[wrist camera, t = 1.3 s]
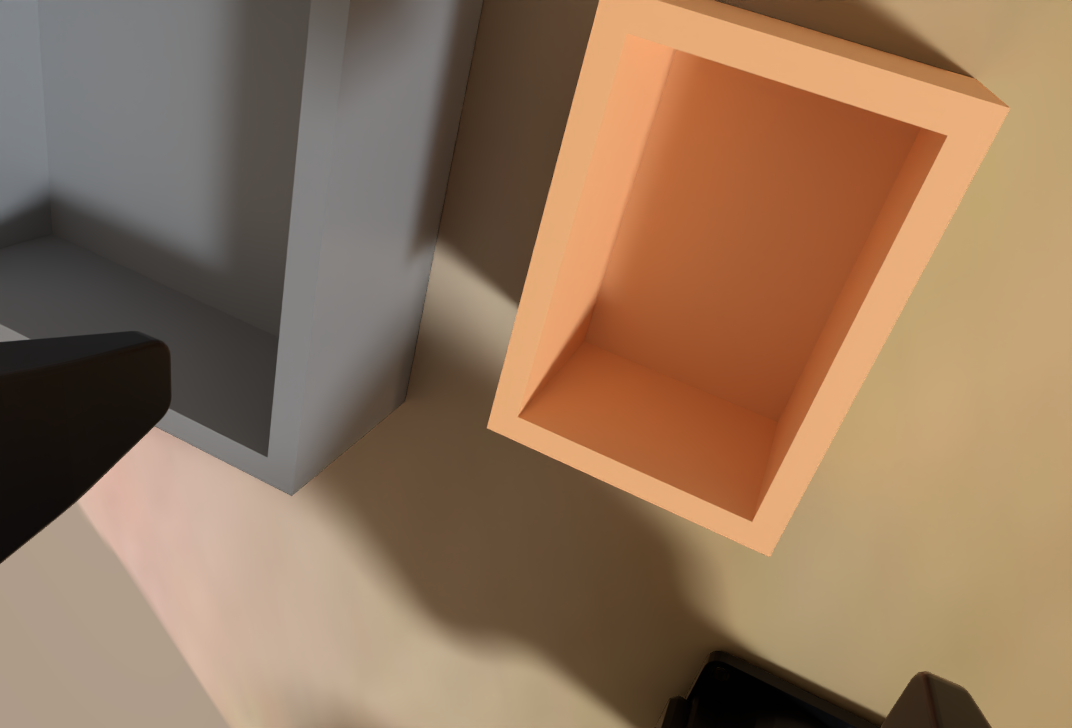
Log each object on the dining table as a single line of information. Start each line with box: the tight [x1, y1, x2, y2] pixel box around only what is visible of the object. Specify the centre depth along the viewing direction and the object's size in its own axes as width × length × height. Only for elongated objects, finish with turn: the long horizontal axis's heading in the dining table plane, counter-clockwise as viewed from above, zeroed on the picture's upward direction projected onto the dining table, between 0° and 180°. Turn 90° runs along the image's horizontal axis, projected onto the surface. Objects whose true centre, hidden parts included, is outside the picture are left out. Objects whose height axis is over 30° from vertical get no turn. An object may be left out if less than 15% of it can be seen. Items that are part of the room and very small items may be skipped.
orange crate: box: [487, 0, 1010, 557], centre depth 16 cm, size 6×9×5 cm
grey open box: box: [0, 0, 483, 496], centre depth 20 cm, size 14×14×6 cm
